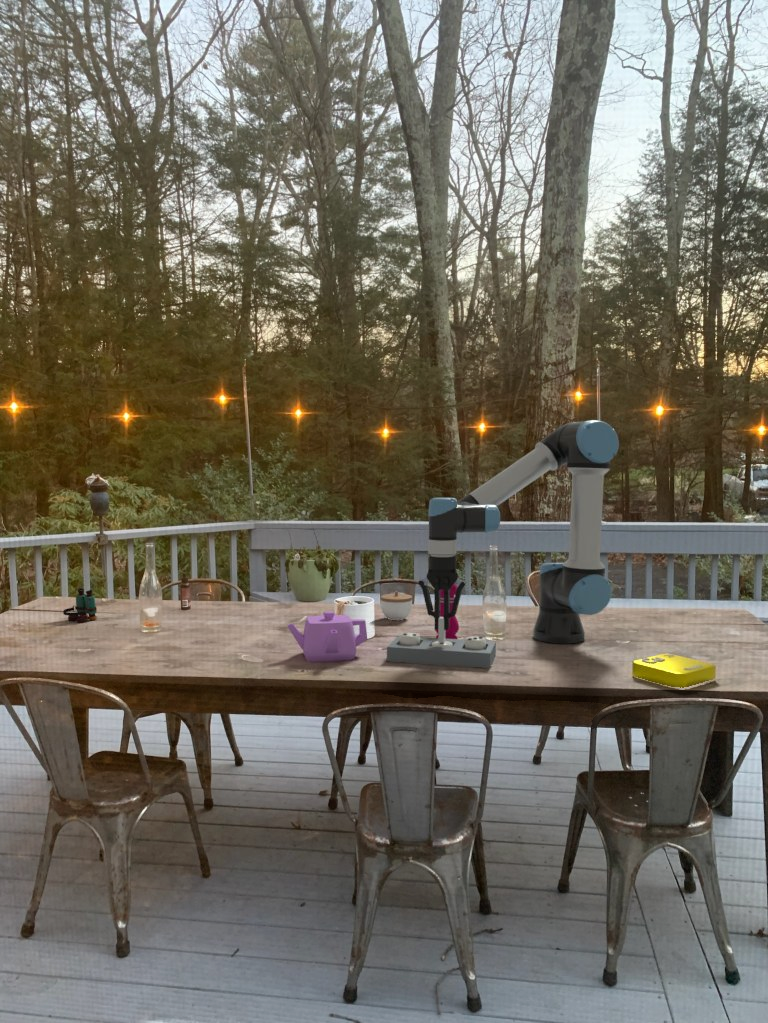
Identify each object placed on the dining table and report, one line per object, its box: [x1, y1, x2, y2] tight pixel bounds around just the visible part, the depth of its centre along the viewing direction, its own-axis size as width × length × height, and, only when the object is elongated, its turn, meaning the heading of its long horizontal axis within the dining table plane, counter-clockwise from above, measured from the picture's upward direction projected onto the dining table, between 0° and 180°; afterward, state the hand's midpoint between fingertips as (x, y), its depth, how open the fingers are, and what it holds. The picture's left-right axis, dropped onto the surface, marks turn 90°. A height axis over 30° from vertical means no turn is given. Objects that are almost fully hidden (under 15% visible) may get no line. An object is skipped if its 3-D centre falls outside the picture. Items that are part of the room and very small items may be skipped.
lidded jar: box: [380, 590, 413, 621], centre depth 258 cm, size 11×11×9 cm
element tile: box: [631, 652, 717, 688], centre depth 188 cm, size 15×15×5 cm
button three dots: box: [464, 635, 487, 650], centre depth 204 cm, size 6×6×4 cm
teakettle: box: [286, 610, 368, 663], centre depth 210 cm, size 17×17×12 cm
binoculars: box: [63, 587, 98, 624], centre depth 255 cm, size 9×11×10 cm
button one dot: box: [432, 641, 453, 648], centre depth 207 cm, size 6×6×4 cm
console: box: [386, 635, 497, 669], centre depth 207 cm, size 28×13×4 cm, turn 76°
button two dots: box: [399, 632, 421, 646], centre depth 209 cm, size 6×6×4 cm
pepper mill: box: [434, 582, 460, 639], centre depth 225 cm, size 7×7×20 cm
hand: (441, 641), depth 207 cm, fingers closed
